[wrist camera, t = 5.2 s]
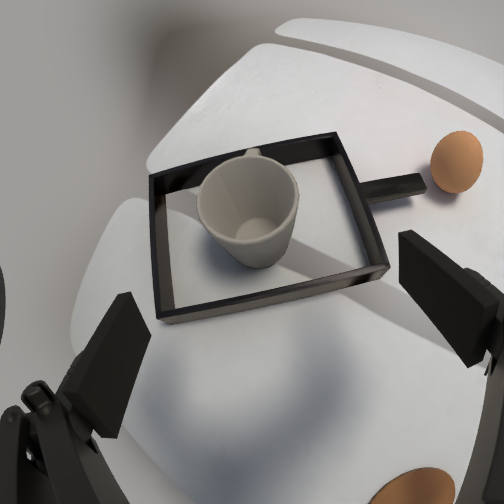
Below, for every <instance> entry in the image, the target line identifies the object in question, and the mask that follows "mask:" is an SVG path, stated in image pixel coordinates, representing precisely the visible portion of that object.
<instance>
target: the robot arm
mask: <svg viewBox="0 0 504 504" xmlns="http://www.w3.org/2000/svg"><path fill="white" fill-rule="evenodd" d="M398 240H399V283H400V284H401V286H402V287H403V288H404V289H405V290H406V291H407V292H408V294H409V295H410V296H411V297H412V298H413V300H414V301H415V302H416V303H417V304H418V305H419V306H420V308H421V309H422V310H423V311H424V313H425V314H426V315H427V316H428V317H429V319H430V320H431V321H432V322H433V324H434V325H435V326H436V327H437V329H438V330H439V331H440V333H441V334H442V335H443V336H444V338H445V339H446V340H447V341H448V343H449V344H450V345H451V347H452V348H453V349H454V351H455V352H456V353H457V355H458V356H459V357H460V359H461V360H462V361H463V363H464V364H465V365H466V367H467V368H469V367H471V366H473V365H475V364H477V363H479V362H481V361H483V358H484V355H485V352H486V349H487V350H488V351H489V352H490V353H491V358H490V361H489V364H488V366H487V369H486V371H485V374H484V375H485V376H487V373H488V377H487V385H486V391H485V398H484V404H483V409H482V414H481V419H480V424H479V428H478V433H477V437H476V441H475V445H474V448H473V452H472V456H471V459H470V462H469V466H468V469H467V472H466V475H465V478H464V481H463V484H462V487H461V490H460V492H459V495H458V498H457V500H456V503H455V504H504V294H503V293H502V292H501V291H500V290H498V289H497V288H496V287H495V286H494V285H493V284H491V283H490V282H489V281H488V280H486V279H485V278H484V277H483V276H482V275H480V274H479V273H478V272H476V271H474V270H471V269H469V268H464V269H463V268H461V267H460V266H459V265H458V264H456V263H455V262H454V261H453V260H451V259H450V258H449V257H448V256H446V255H445V254H444V253H442V252H441V251H440V250H439V249H437V248H436V247H435V246H433V245H432V244H431V243H429V242H428V241H427V240H425V239H424V238H422V237H421V236H420V235H418V234H417V233H416V232H414V231H413V230H408V231H403V232H399V233H398ZM150 338H151V334H150V332H149V330H148V328H147V326H146V324H145V321H144V319H143V317H142V315H141V313H140V311H139V309H138V307H137V304H136V302H135V300H134V298H133V296H132V293H131V292H127V293H122V294H118V295H117V296H116V298H115V300H114V301H113V303H112V304H111V306H110V308H109V309H108V311H107V312H106V314H105V316H104V317H103V319H102V321H101V322H100V324H99V326H98V327H97V329H96V331H95V332H94V334H93V336H92V337H91V339H90V341H89V342H88V344H87V346H86V348H85V349H84V351H82V352H81V353H80V354H79V355H78V356H77V357H76V358H75V359H74V361H73V363H72V364H71V366H70V368H69V370H68V372H67V375H65V377H64V379H63V381H62V383H61V384H60V386H59V388H58V390H57V392H56V394H54V393H53V392H52V390H51V389H50V388H49V387H48V385H47V384H46V383H45V382H44V381H42V380H39V381H35V382H33V383H31V384H30V385H29V386H27V387H26V389H25V390H24V391H23V393H22V395H21V400H22V402H23V403H24V404H25V405H26V406H27V407H28V409H29V410H30V411H31V412H30V413H26V414H25V413H24V412H23V410H22V409H21V408H20V407H19V406H16V405H15V406H11V407H9V408H7V410H5V411H4V413H3V415H2V416H1V419H0V504H130V503H129V501H128V500H127V498H126V497H125V495H124V493H123V492H122V490H121V489H120V487H119V485H118V483H117V482H116V480H115V478H114V476H113V474H112V473H111V471H110V469H109V467H108V465H107V463H106V461H105V459H104V457H103V455H102V453H101V452H100V449H99V447H98V445H97V443H96V441H95V440H94V439H93V438H92V436H91V434H92V431H93V429H94V430H95V431H96V432H97V433H98V435H99V436H100V437H101V438H114V439H115V438H116V439H117V437H118V433H119V430H120V427H121V424H122V420H123V417H124V414H125V411H126V408H127V405H128V401H129V398H130V395H131V392H132V389H133V386H134V383H135V380H136V378H137V375H138V372H139V369H140V366H141V363H142V360H143V357H144V355H145V352H146V349H147V346H148V344H149V341H150ZM26 452H28V453H29V454H30V455H31V460H29V459H28V458H27V454H26Z"/></svg>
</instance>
